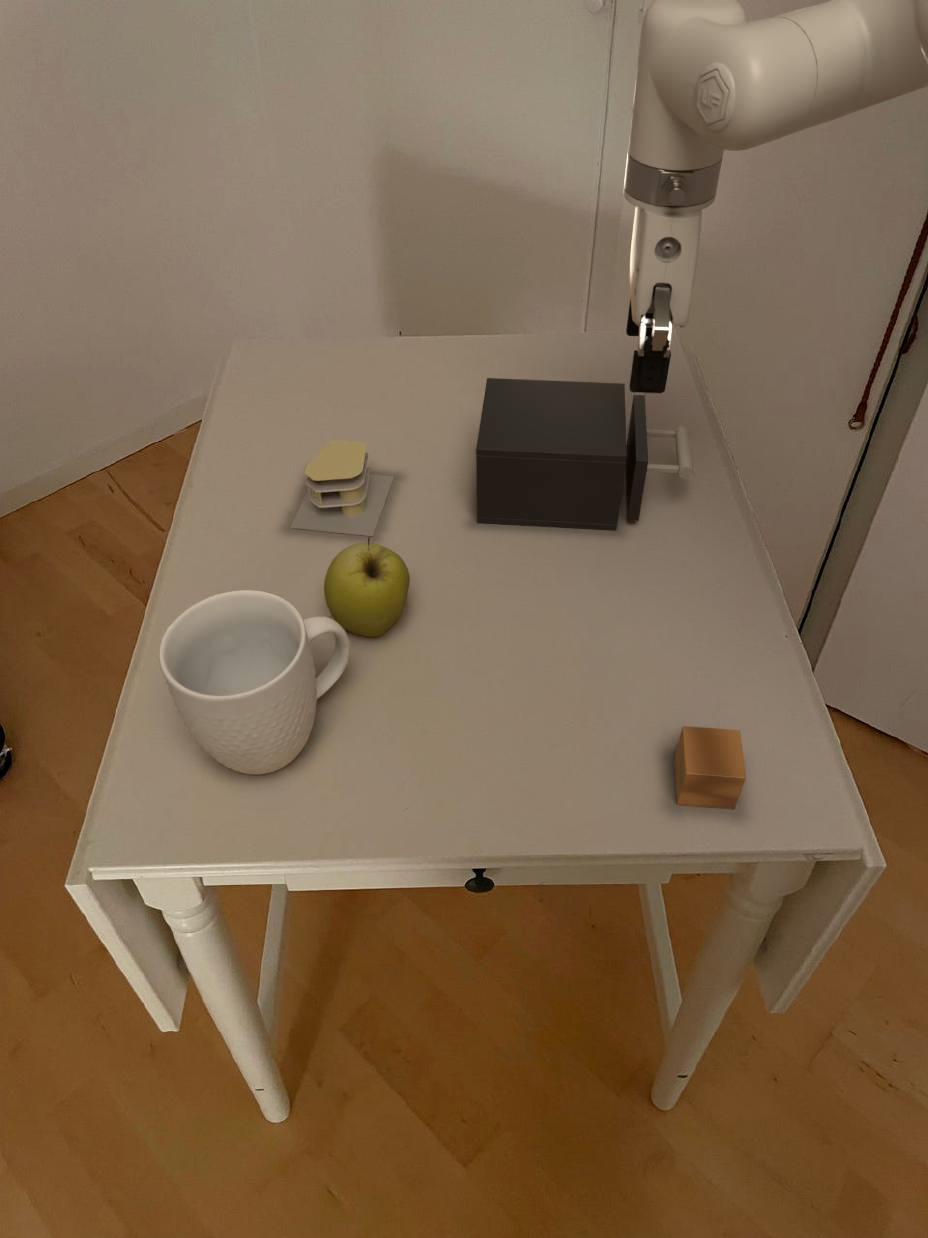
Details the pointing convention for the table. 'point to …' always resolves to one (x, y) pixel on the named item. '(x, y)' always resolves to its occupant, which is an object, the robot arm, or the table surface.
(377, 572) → the apple
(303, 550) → the table surface
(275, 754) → the mug
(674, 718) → the table surface
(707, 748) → the block
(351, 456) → the stacked layers on plate
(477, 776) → the table surface
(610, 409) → the dark grey box
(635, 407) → the drawer
